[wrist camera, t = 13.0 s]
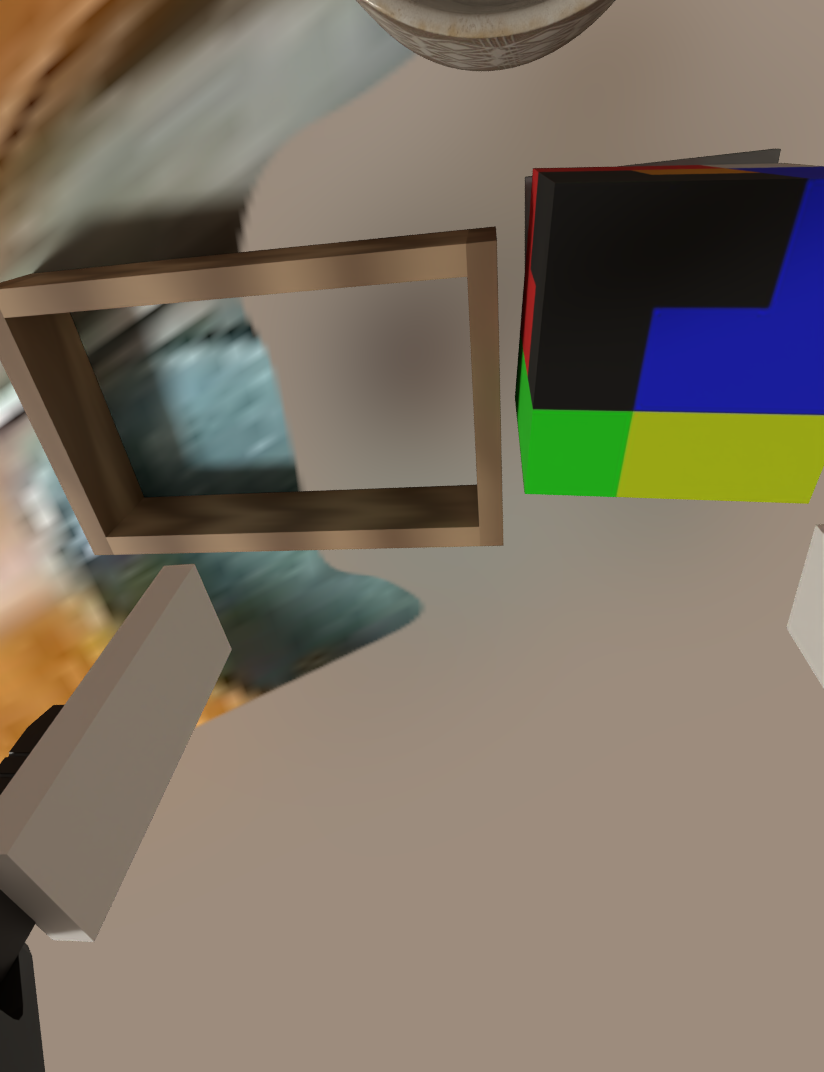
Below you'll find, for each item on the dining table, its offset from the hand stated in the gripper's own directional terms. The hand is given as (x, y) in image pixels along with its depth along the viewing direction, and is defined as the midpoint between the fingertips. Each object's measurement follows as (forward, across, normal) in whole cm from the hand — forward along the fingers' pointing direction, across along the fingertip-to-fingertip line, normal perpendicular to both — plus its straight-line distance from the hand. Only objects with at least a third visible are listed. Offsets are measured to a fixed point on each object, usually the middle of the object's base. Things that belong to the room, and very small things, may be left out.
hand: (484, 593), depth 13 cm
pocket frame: (+20, -11, -2) cm, 23 cm away
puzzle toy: (+19, +7, +1) cm, 21 cm away
